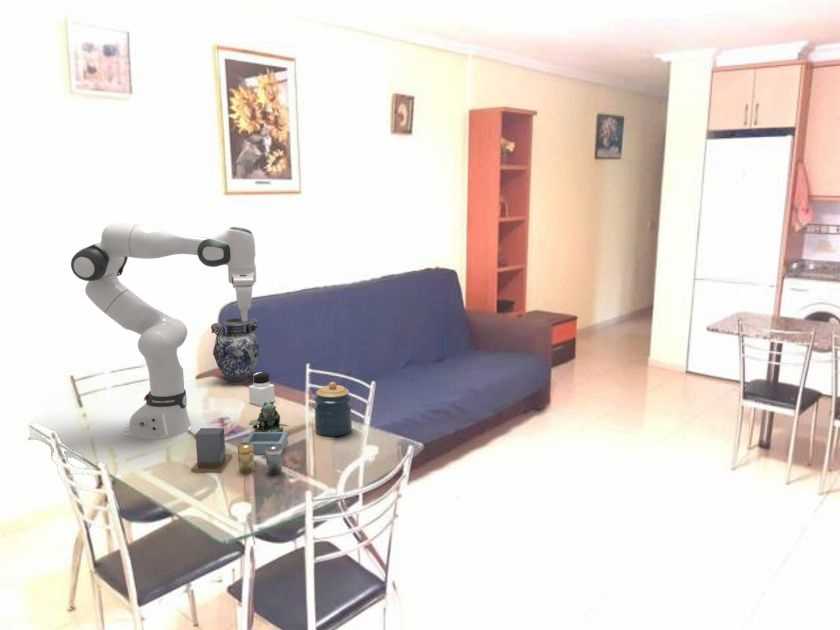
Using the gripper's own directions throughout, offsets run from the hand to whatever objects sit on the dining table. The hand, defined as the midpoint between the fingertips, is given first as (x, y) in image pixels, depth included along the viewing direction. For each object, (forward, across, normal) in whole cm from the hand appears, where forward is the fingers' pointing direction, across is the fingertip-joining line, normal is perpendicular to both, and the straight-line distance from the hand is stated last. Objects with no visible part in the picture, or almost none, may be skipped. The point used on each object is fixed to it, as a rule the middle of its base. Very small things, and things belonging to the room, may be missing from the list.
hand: (243, 318), depth 211 cm
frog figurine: (+41, +1, +6) cm, 42 cm away
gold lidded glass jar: (+41, +30, -2) cm, 51 cm away
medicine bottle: (+41, -32, +7) cm, 53 cm away
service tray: (+41, +15, +5) cm, 44 cm away
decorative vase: (+41, -63, -1) cm, 75 cm away
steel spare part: (+41, +34, +6) cm, 53 cm away
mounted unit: (+41, +23, -12) cm, 48 cm away
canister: (+41, +6, +29) cm, 50 cm away
